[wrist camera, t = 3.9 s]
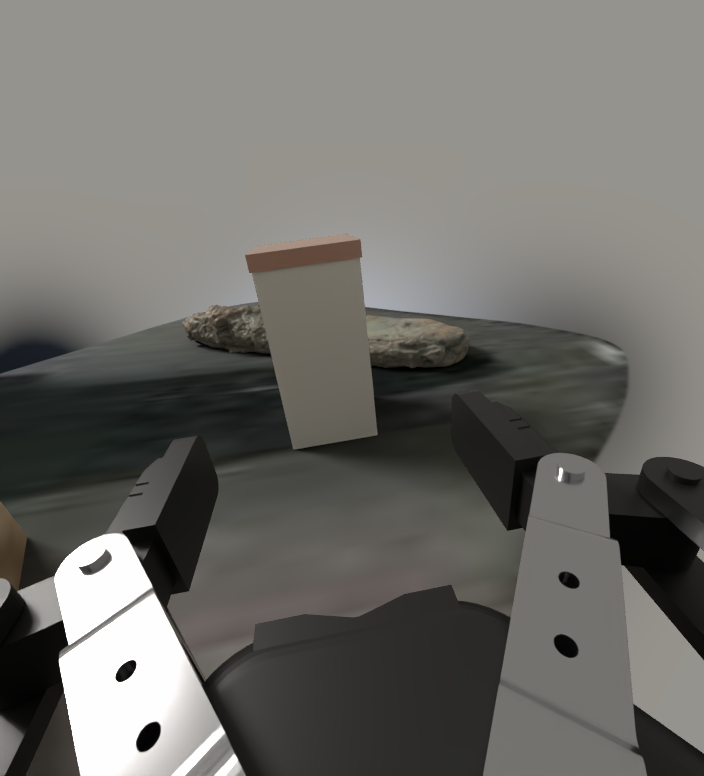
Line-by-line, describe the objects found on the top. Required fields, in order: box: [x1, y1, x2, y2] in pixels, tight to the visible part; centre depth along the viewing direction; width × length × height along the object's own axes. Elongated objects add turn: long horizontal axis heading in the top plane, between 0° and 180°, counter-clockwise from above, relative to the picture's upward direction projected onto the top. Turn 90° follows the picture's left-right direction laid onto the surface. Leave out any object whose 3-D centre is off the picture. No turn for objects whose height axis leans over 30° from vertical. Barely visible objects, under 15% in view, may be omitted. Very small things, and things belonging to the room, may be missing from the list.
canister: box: [246, 234, 378, 450], centre depth 21 cm, size 5×5×11 cm
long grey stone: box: [183, 305, 470, 368], centre depth 38 cm, size 35×5×10 cm
